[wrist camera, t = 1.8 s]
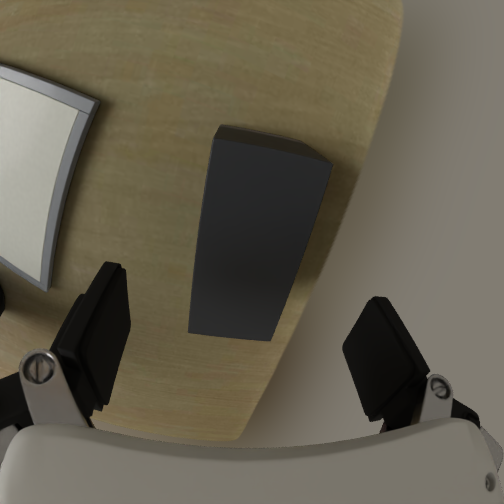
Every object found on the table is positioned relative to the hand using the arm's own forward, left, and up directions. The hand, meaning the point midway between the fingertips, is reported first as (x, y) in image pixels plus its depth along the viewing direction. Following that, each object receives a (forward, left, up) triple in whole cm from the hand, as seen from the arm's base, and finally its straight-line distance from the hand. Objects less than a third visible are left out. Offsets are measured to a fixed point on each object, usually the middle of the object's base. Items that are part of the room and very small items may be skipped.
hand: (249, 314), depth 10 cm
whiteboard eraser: (0, 0, -8) cm, 8 cm away
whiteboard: (+6, -22, -8) cm, 24 cm away
